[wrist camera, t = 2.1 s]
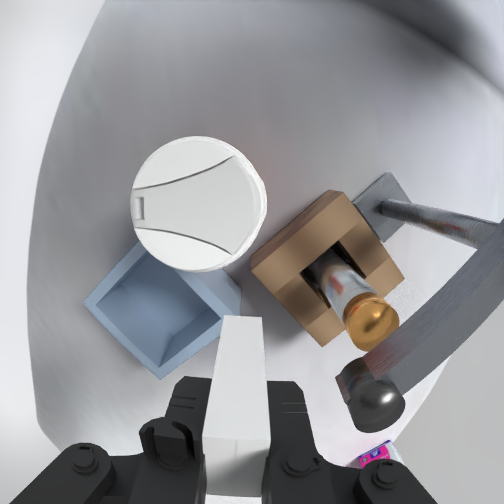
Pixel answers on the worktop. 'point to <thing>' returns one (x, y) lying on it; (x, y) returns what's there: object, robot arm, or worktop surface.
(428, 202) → the worktop surface
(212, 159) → the paper cup
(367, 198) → the base
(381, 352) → the grey tall angled piece
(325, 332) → the socket block
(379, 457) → the supplement box
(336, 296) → the pin
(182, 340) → the blue open box
